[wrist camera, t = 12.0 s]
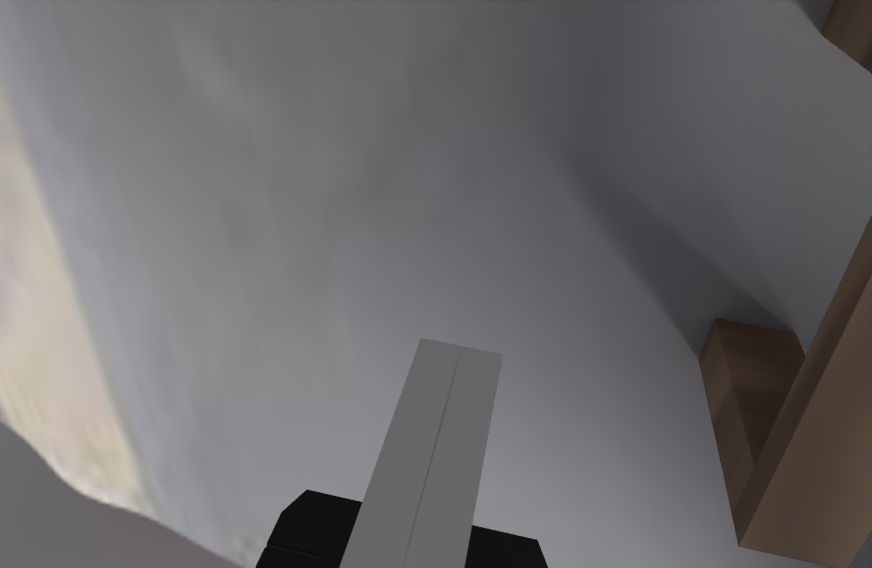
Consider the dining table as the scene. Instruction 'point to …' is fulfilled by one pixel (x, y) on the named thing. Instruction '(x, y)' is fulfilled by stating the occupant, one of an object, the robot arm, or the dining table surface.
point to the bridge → (802, 401)
